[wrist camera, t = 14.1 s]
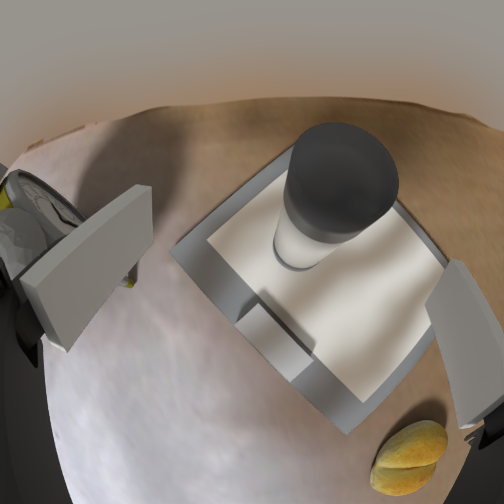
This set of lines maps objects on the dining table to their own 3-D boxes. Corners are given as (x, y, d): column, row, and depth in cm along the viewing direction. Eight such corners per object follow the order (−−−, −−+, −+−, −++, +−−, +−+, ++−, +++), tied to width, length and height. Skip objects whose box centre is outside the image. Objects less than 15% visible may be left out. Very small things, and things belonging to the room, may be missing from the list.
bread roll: (447, 417, 19) (468, 427, 16) (415, 483, 18) (431, 498, 14) (389, 416, 20) (408, 431, 16) (355, 487, 18) (367, 508, 15)
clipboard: (461, 289, 22) (475, 287, 20) (343, 431, 20) (351, 441, 17) (315, 132, 25) (319, 118, 23) (172, 254, 23) (163, 248, 21)
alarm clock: (151, 278, 23) (25, 235, 8) (108, 334, 22) (-25, 345, 7) (81, 204, 25) (-18, 134, 10) (46, 254, 24) (-61, 214, 9)
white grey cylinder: (334, 247, 22) (416, 177, 9) (298, 283, 21) (354, 249, 9) (297, 210, 23) (338, 107, 10) (260, 244, 22) (265, 162, 9)
